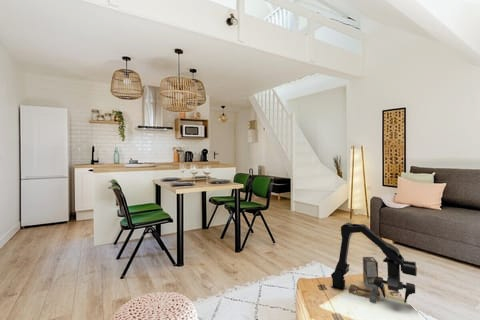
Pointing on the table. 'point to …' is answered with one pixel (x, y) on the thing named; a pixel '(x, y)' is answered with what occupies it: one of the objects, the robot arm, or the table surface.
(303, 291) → the table surface
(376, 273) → the coffee box
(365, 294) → the bar
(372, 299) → the grey bracket bar
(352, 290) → the base
